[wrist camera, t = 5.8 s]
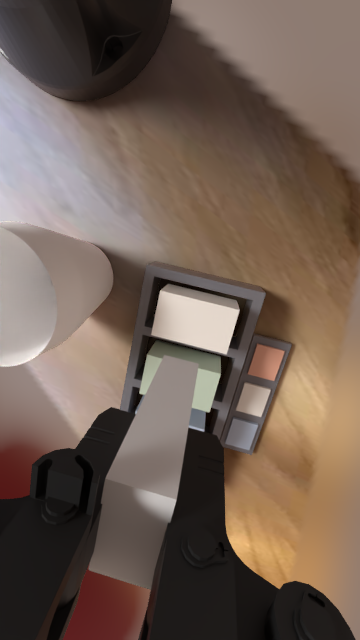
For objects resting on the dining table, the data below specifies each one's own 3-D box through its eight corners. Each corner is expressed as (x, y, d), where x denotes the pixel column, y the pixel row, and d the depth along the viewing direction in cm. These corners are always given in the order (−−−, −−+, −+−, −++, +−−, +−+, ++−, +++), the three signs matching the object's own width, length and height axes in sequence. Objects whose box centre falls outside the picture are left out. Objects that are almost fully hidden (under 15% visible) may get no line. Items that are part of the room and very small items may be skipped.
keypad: (155, 261, 27) (146, 264, 24) (260, 286, 26) (266, 293, 23) (119, 448, 33) (108, 471, 30) (202, 472, 33) (201, 498, 29)
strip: (253, 333, 27) (254, 336, 27) (290, 342, 27) (292, 345, 26) (218, 442, 31) (218, 447, 30) (251, 450, 31) (251, 456, 30)
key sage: (156, 339, 26) (147, 354, 23) (220, 356, 26) (220, 374, 22) (149, 374, 27) (139, 393, 24) (210, 391, 27) (209, 412, 23)
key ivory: (168, 283, 24) (160, 290, 21) (236, 300, 24) (239, 310, 21) (159, 322, 25) (151, 335, 22) (225, 339, 25) (226, 354, 22)
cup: (136, 244, 27) (74, 248, 15) (113, 330, 29) (46, 389, 18) (47, 214, 27) (-80, 195, 16) (32, 302, 30) (-85, 341, 18)
